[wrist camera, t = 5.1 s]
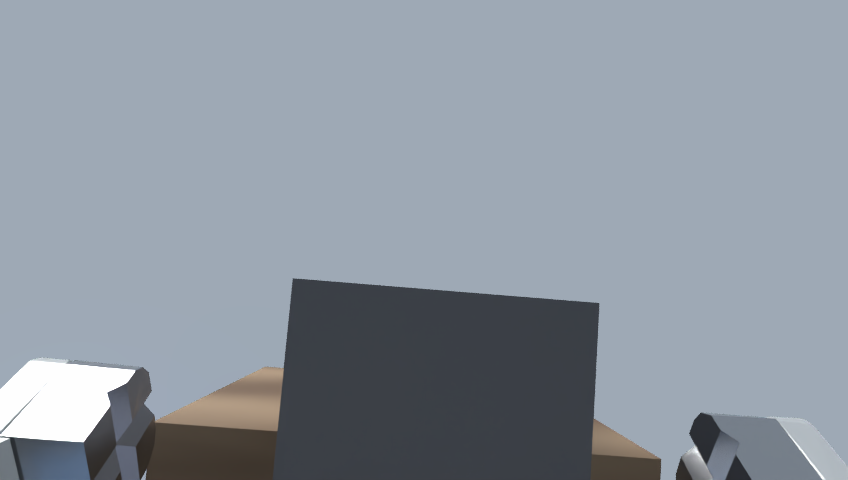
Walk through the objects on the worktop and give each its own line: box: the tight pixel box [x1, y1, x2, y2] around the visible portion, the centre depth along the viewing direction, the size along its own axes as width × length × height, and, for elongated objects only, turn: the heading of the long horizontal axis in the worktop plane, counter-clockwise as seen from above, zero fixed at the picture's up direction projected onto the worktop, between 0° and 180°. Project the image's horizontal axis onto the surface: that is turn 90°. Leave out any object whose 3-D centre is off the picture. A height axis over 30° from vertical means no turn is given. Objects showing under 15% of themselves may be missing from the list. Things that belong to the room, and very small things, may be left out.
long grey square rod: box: [273, 279, 599, 480], centre depth 17 cm, size 20×3×3 cm, turn 2°
